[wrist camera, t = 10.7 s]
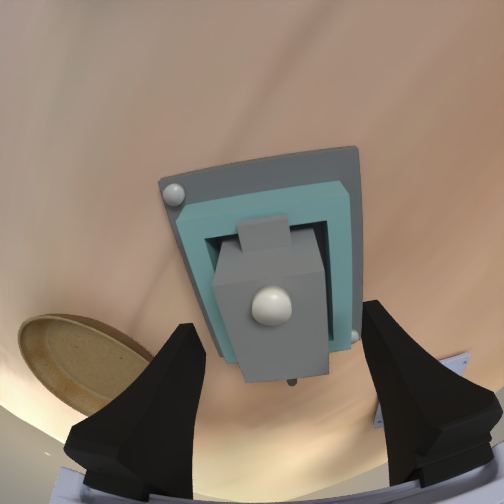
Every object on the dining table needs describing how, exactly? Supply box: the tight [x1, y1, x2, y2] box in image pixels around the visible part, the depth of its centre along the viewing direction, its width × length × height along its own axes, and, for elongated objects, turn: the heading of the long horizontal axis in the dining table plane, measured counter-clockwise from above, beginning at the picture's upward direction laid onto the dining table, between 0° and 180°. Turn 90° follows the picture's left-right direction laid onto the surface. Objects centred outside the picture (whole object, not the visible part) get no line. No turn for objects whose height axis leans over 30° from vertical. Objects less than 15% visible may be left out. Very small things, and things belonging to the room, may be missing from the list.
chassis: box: [158, 146, 363, 364], centre depth 16 cm, size 12×9×2 cm
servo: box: [212, 214, 329, 386], centre depth 15 cm, size 11×4×5 cm, turn 11°
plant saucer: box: [18, 314, 154, 417], centre depth 22 cm, size 15×15×3 cm
